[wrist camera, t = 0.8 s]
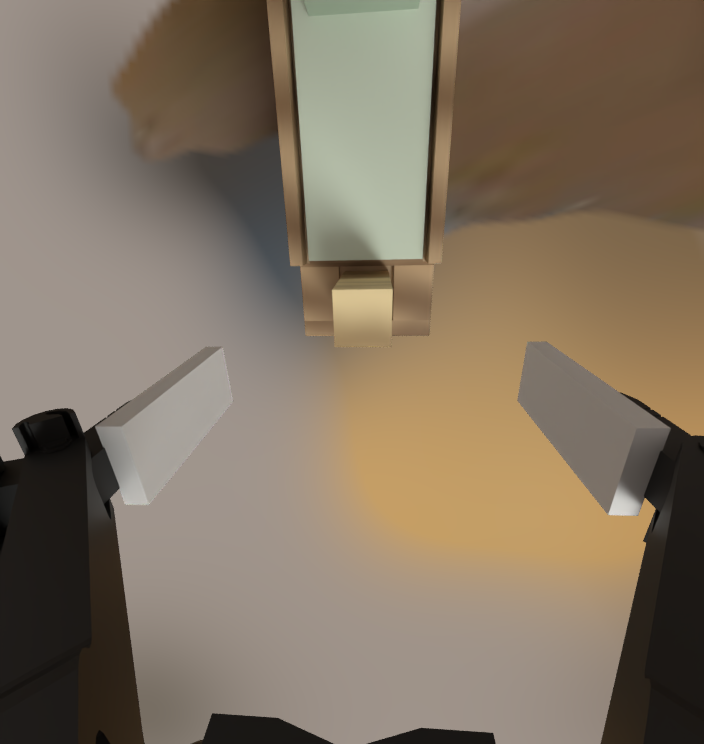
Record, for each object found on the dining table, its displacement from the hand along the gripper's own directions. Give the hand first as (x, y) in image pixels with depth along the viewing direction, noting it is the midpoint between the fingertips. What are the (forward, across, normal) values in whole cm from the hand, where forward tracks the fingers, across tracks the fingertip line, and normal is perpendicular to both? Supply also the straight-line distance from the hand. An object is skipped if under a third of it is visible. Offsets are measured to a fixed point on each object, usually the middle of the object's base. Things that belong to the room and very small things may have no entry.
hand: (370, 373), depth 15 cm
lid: (+16, -1, +14) cm, 22 cm away
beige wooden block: (+19, -1, 0) cm, 19 cm away
